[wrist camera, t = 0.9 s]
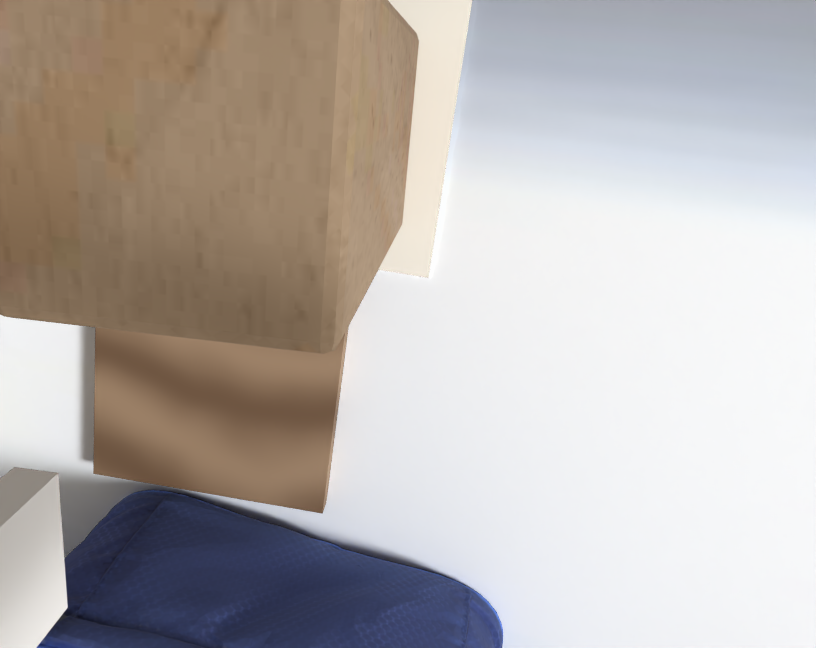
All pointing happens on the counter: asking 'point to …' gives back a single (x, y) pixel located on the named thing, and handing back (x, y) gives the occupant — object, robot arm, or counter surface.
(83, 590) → the lunch bag
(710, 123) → the counter surface
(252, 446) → the board
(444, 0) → the tile
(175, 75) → the wooden block
